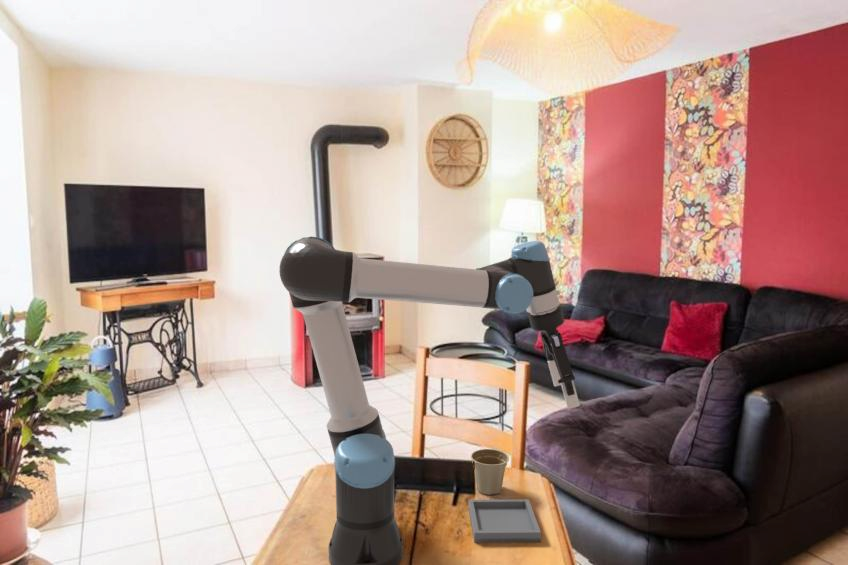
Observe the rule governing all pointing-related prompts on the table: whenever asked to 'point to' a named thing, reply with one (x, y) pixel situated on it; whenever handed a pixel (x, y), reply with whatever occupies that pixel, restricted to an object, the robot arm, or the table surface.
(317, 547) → the table surface
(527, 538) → the plant tray
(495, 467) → the flower pot
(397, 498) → the table surface
